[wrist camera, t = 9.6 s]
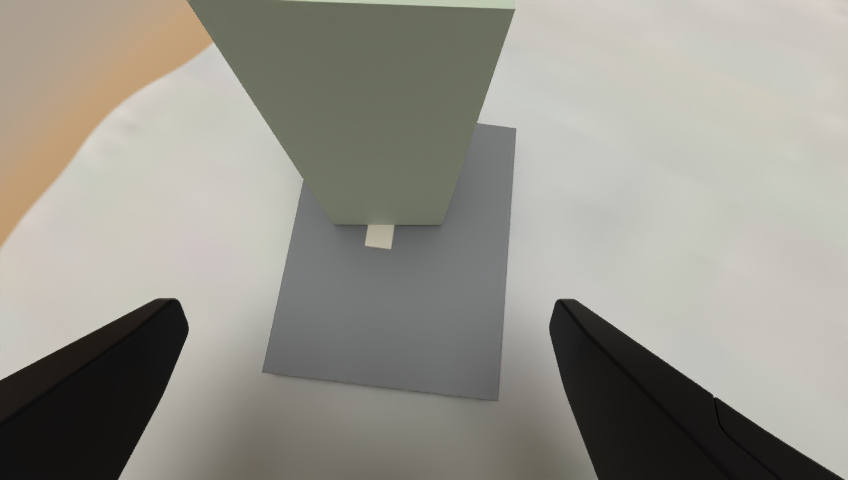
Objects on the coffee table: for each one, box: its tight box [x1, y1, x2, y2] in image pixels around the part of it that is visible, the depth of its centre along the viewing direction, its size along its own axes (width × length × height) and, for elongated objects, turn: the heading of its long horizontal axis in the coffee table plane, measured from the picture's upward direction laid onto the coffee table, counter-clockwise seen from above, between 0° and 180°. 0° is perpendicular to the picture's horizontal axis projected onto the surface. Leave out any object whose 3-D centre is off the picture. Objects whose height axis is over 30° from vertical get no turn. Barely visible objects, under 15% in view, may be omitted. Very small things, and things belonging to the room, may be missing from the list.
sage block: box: [187, 0, 515, 225], centre depth 12 cm, size 5×5×12 cm
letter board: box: [262, 123, 516, 401], centre depth 18 cm, size 13×10×1 cm
